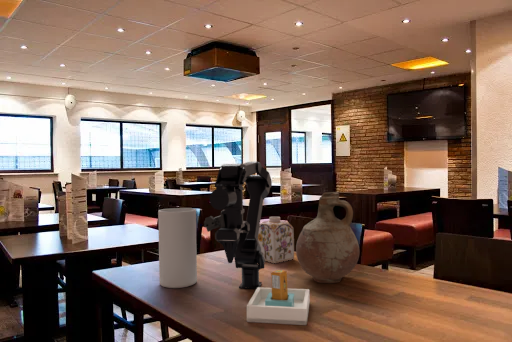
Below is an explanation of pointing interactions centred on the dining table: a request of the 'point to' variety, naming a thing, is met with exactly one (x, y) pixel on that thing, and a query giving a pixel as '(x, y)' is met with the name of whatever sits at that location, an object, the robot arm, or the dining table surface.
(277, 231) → the decorative jar
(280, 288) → the supplement box
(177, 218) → the cylinder vase
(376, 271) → the dining table surface
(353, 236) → the jug
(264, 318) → the walled tray
